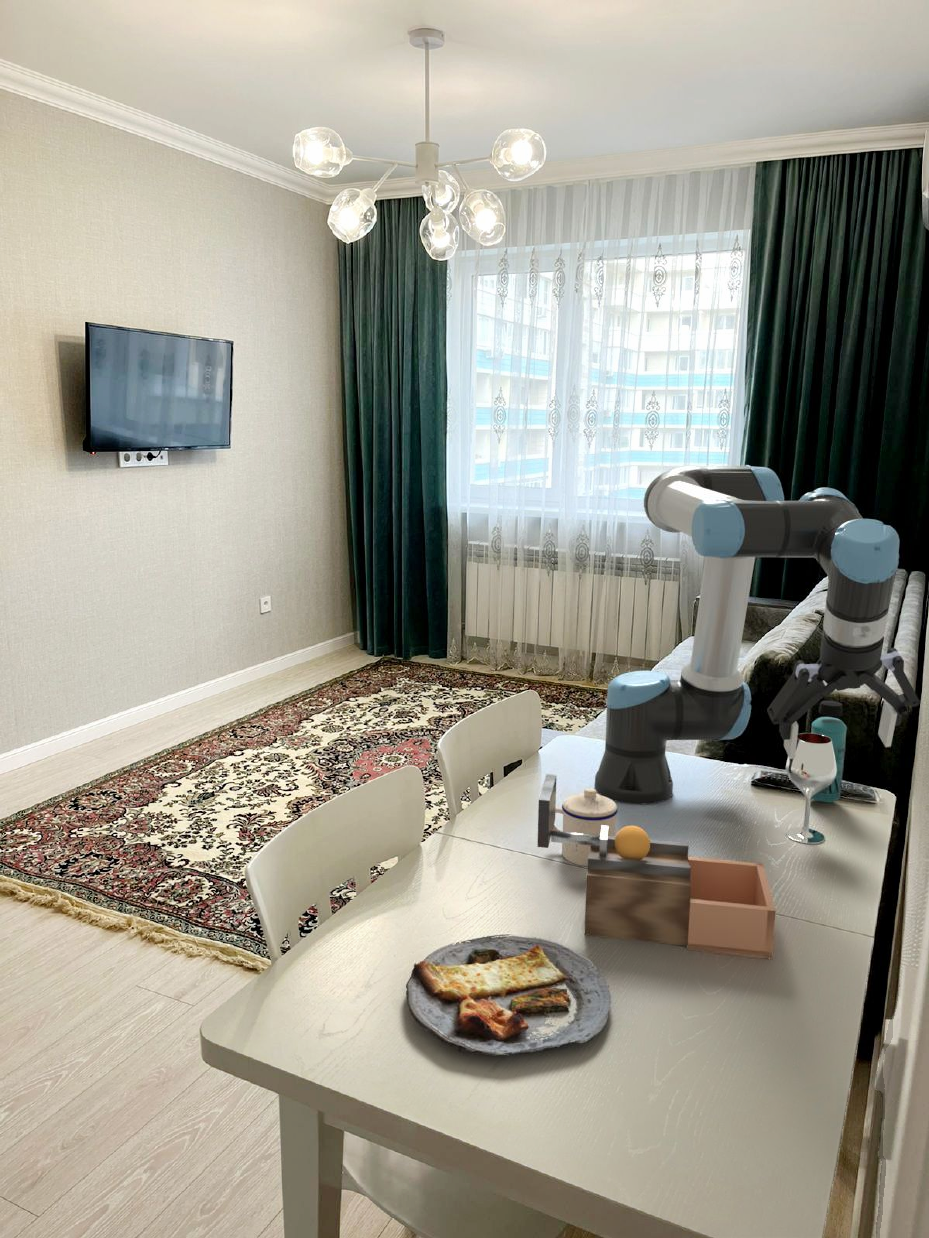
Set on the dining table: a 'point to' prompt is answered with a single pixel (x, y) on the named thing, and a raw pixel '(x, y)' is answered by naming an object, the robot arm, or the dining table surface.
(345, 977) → the dining table surface
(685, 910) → the launcher
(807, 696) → the robot arm
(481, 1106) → the dining table surface
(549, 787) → the plunger
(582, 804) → the teacup with lid
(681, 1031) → the dining table surface
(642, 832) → the ball
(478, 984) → the food plate
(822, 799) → the beverage bottle
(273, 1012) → the dining table surface
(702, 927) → the cup
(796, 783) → the wineglass
